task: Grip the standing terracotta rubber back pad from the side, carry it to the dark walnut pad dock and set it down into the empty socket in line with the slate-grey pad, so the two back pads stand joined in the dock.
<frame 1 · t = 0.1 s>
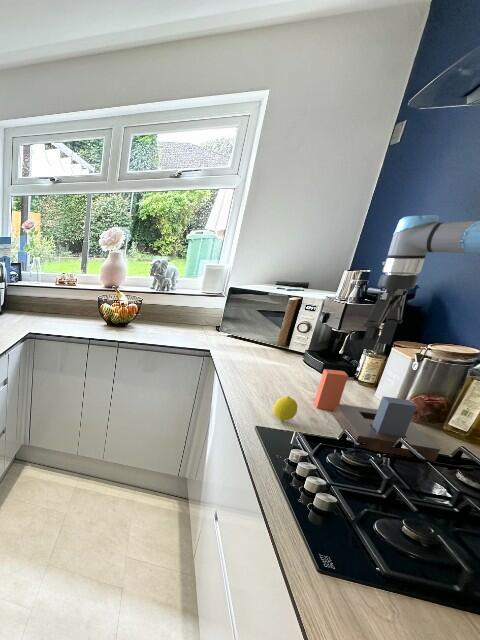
hand: (375, 346, 121), 21 cm above the worktop, tool pointing down, fingers open, 13 cm apart
lemon: (281, 421, 120), on the worktop
dock: (377, 435, 110), on the worktop
pad b: (324, 407, 129), on the worktop
pad a: (383, 442, 106), resting in dock
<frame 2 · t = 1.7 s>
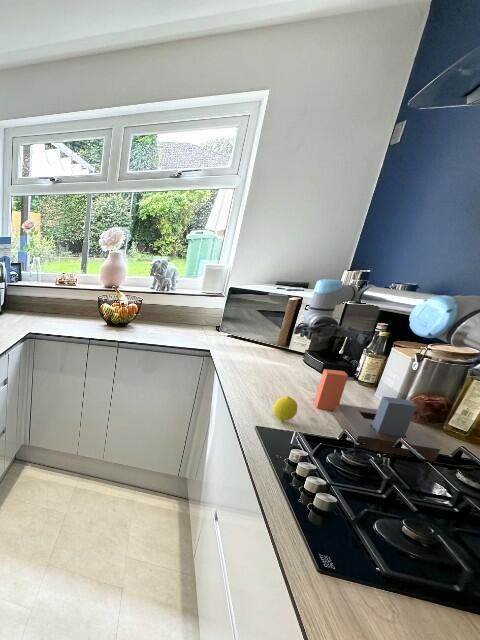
hand: (337, 338, 130), 21 cm above the worktop, tool horizontal, fingers open, 13 cm apart
nothing on the worktop moved.
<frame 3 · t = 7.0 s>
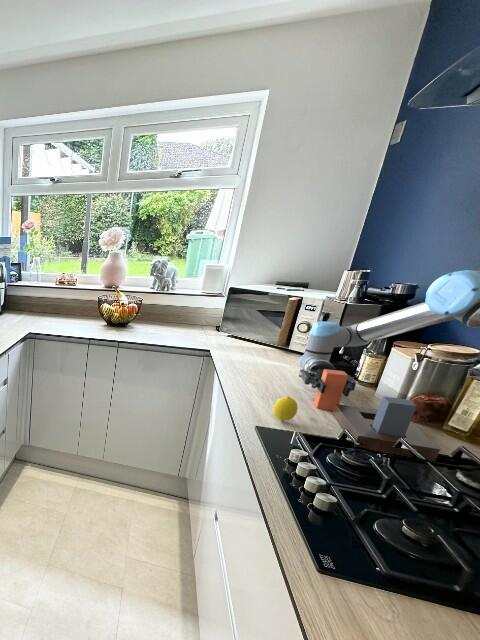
hand: (335, 390, 122), 8 cm above the worktop, tool horizontal, fingers closed on pad b, 5 cm apart
pad b: (324, 407, 129), on the worktop, touching gripper
everything else where it was.
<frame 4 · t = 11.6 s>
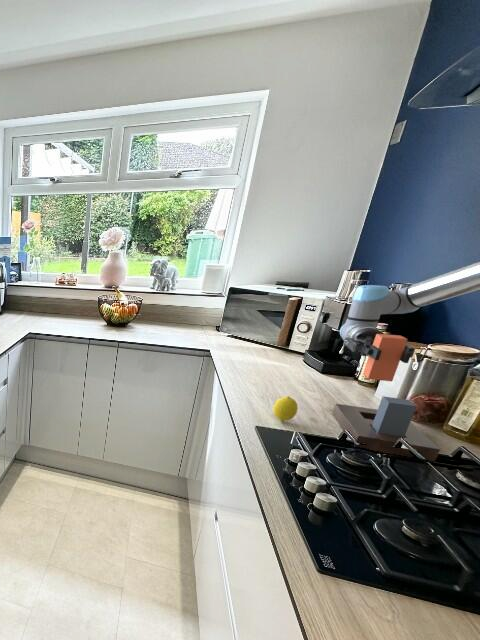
hand: (392, 356, 106), 22 cm above the worktop, tool horizontal, fingers closed on pad b, 5 cm apart
pad b: (377, 377, 113), point 14 cm above the worktop, touching gripper
everything else where it was.
when the fingers open (7 cm above the worktop, at t = 16.1 s): pad b stays where it is, resting in dock.
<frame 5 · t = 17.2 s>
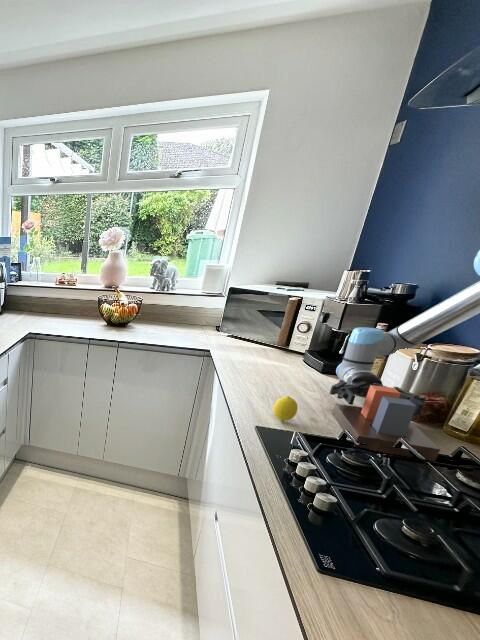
hand: (385, 404, 109), 8 cm above the worktop, tool horizontal, fingers open, 13 cm apart
pad b: (371, 427, 115), resting in dock
everything else where it was.
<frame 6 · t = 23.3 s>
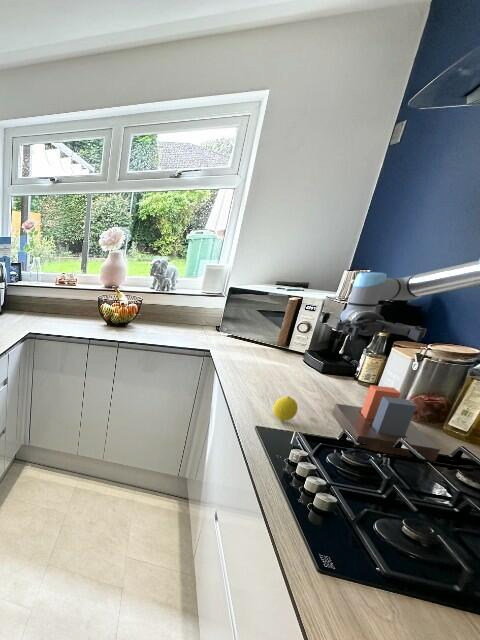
hand: (387, 334, 117), 25 cm above the worktop, tool horizontal, fingers open, 13 cm apart
nothing on the worktop moved.
at the end: pad b 0.0 cm from the target spot in the dock, point 0.0 cm above the dock's base; pad b tilted 0°; pad a moved 0.0 cm from its start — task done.
